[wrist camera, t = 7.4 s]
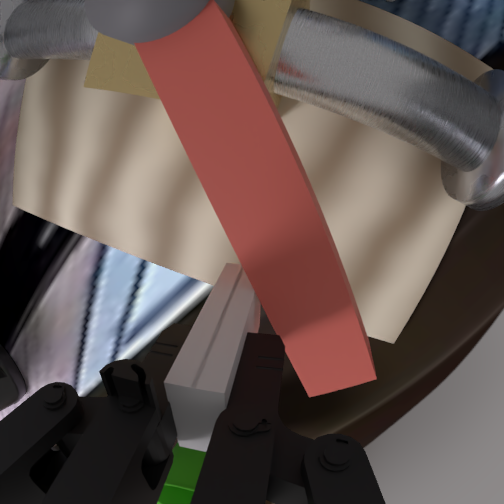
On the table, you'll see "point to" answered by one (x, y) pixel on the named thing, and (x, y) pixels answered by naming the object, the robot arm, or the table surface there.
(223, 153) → the lever
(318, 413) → the table surface
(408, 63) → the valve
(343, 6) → the board
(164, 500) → the cup
